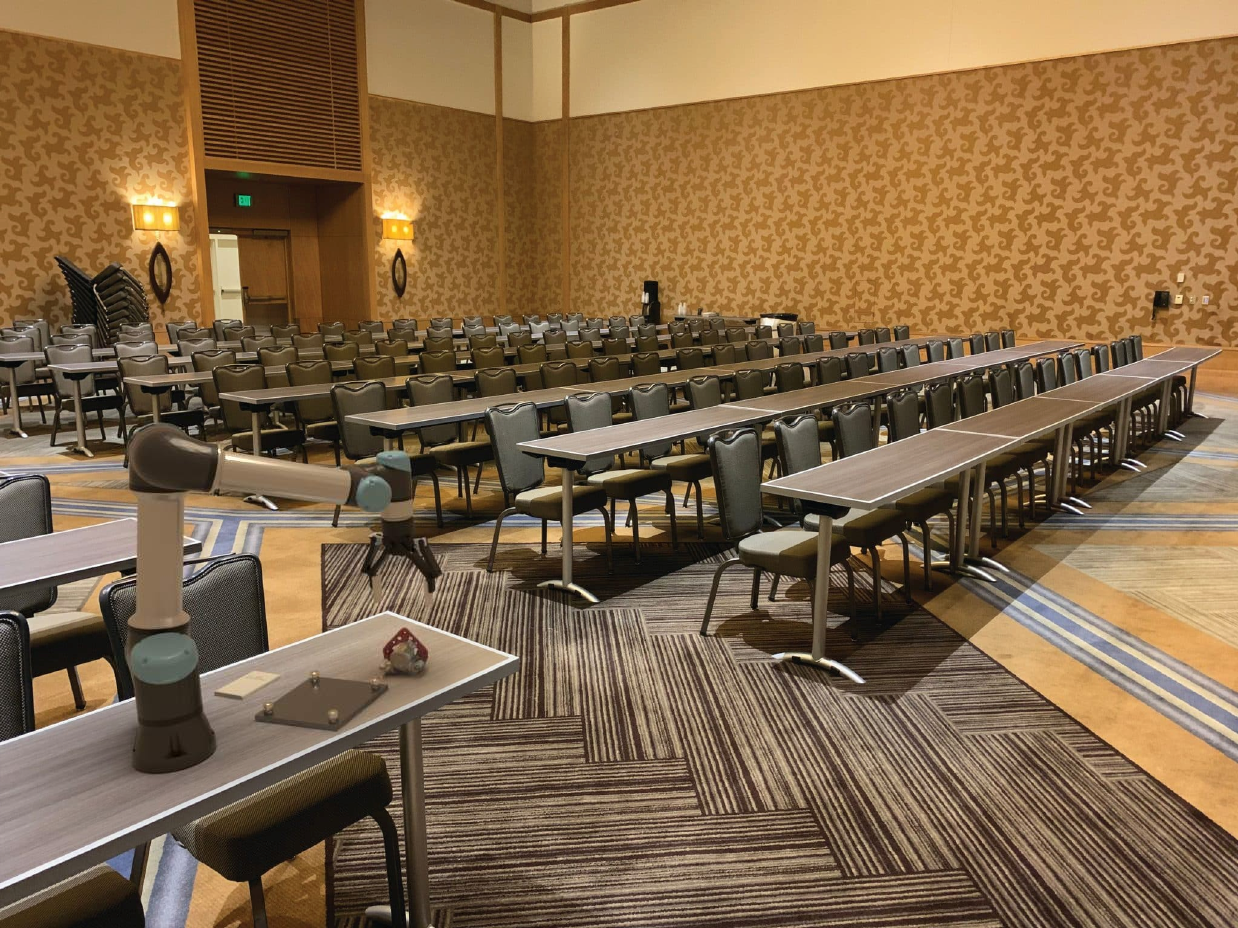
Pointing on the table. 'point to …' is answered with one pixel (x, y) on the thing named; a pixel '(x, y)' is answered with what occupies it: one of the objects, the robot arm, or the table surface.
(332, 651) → the table surface
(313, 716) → the mounting plate
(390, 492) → the robot arm
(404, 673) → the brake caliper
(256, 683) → the light wooden board
